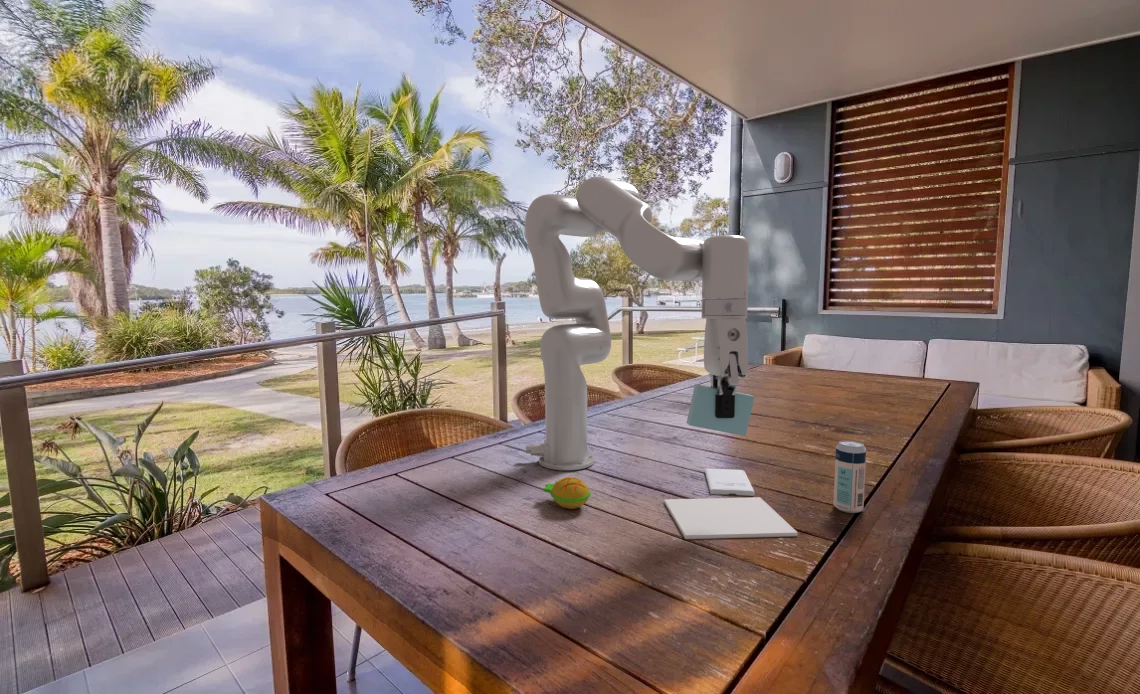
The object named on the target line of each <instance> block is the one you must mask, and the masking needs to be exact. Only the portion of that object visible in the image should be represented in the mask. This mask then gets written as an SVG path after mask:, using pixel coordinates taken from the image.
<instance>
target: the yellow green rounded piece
mask: <svg viewBox="0 0 1140 694" xmlns="http://www.w3.org/2000/svg"><path fill="white" fill-rule="evenodd" d="M542 491H543V492H545V493H549V494H550V496H551V498H553V501H555V503H556V504H558V506H560V507H562V508H564V509H568V510H575V509H577V508H578V509H579V508H580V507H582V506H584V505H585V504H586V503H587V501H588V500H589V497H591V493H592V492H591V489H589V487H588V486H587V484H586V483H585V482H583V480H582V479H580V478H577V477H572V476H566V477H563V478H560V479H559V480H555V482H554V483H546V484H545V486H544V487H543V488H542Z"/></svg>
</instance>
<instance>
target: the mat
mask: <svg viewBox="0 0 1140 694" xmlns="http://www.w3.org/2000/svg"><path fill="white" fill-rule="evenodd" d="M663 501H664V502H663V503H664V506H666V508H667V510H668V512H669V513H670V515H671V517H672V518H673V520H674V522H675V525H676V526H677V527H678V529H679V531H680V532H681V534H682V535H683V537H684V539H685V540H696V539H698V540H699V539H700V540H701V539H732V538H733V539H736V538H737V539H738V538H742V539H743V538H770V537H771V538H773V537H774V538H775V537H779V538H780V537H781V538H782V537H798V534H799V533H798V531H797V530H796V529H794V527H792V525H790V524H789V523H788V522H787V521H786V520H785V519H784V518H783V517H782V516H781V515H780V514H778V513H777V512H776V510H775V509H773V508H772V507H771V506H770V505H769V504H768V503H767V502H766V501H765V500H764V499H763V498H761V497H758V496H757V497H756V496H752V497H751V496H749V497H718V498H717V497H716V498H715V497H714V498H712V497H709V498H708V497H707V498H675V499H674V498H672V499H671V498H670V499H668V498H667V499H664V500H663Z"/></svg>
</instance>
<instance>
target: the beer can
mask: <svg viewBox="0 0 1140 694" xmlns="http://www.w3.org/2000/svg"><path fill="white" fill-rule="evenodd" d="M866 457H867V449H866V446H865V444H864V443H862V442H859V441H854V440H840V441H839V442H838V443H837V445H836V446H835V459H834V460H835V461H834V462H835V463H834V482H833V485H834V486H833V502H832V503H833V504H832V505H833V507H835V508H836V509H837V510H839V511H840V512H843V513H847V514H858V513H861V512H863V510H864V504H865V503H864V501H865V483H866V463H867V462H866V461H867V458H866Z"/></svg>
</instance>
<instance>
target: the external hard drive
mask: <svg viewBox="0 0 1140 694" xmlns="http://www.w3.org/2000/svg"><path fill="white" fill-rule="evenodd" d="M704 474H706V475H705V477H706V480H707V486H708V489H709V492H710V494H711V495H725V496H726V495H733V496H734V495H735V496H745V497H746V496H747V497H751V496H752V497H756V496H755V493H756V492H755V490H754V488H753V485H752V484H751V481H750V480H749V478H748V476H747V473H746V472H745V470H744V469H732V468H731V469H730V468H729V469H728V468H705V470H704Z"/></svg>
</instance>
